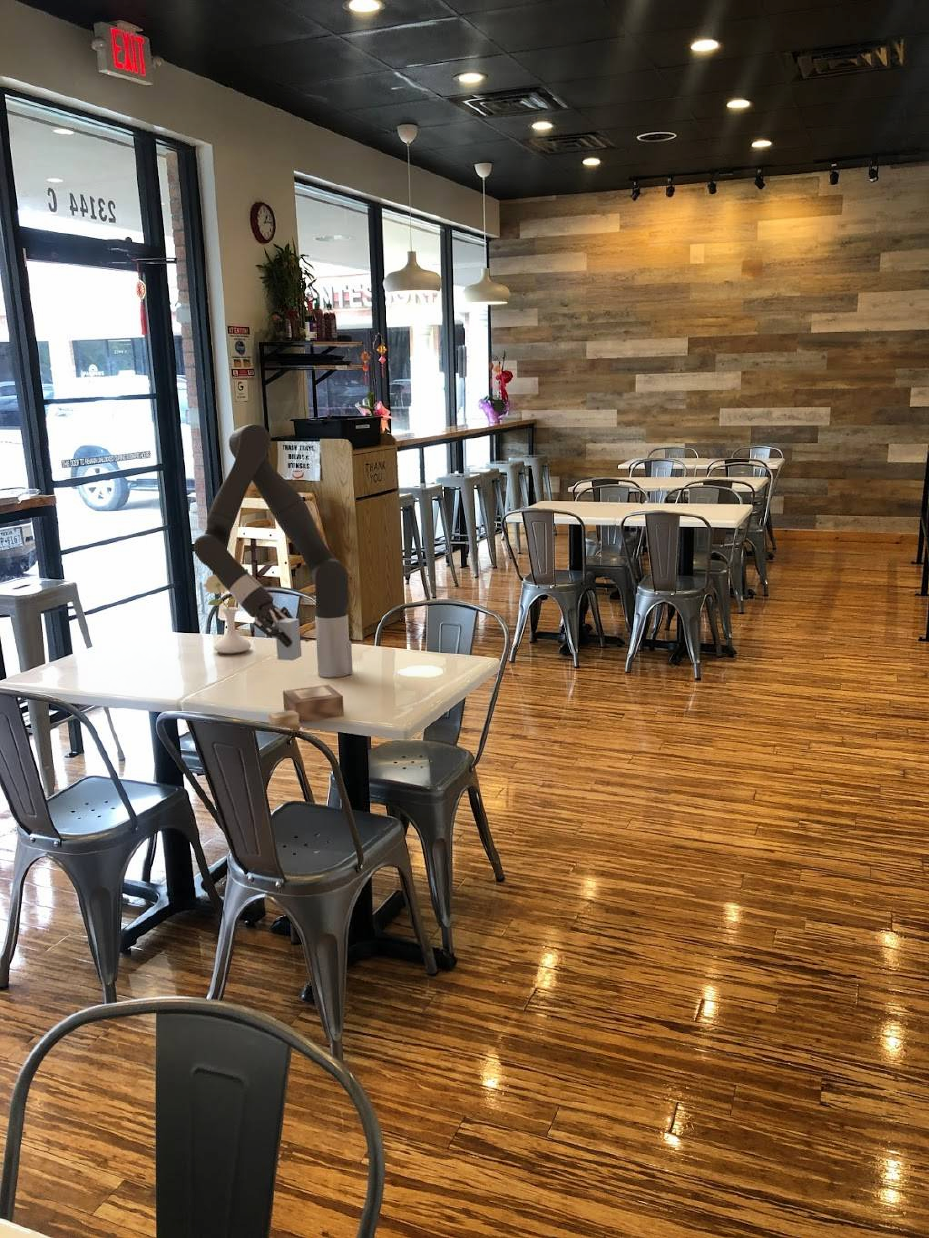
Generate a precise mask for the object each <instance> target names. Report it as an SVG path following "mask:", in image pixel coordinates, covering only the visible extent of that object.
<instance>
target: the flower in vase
mask: <svg viewBox="0 0 929 1238" xmlns="http://www.w3.org/2000/svg"><path fill="white" fill-rule="evenodd" d="M203 586H204V588H205V590H206V592H208V593H210V594H214V595H219V598H220V599H218V598H213V599H211V600H210V601H209V602H208V604H207V605H208V606H219V605H220V604H221V603H223V605H224V606H225V607H224V608H222V609H221V611H222V612H223V614H224V615H225V619H226V624H227V625H226V626H227V627H226V628H227V629H226V633H225V634H224V635H223V636H222V637H221V638H220V639H219V640H218V641H217V642H216V643H215V644H214V646H213V649H214V651H215V652H218V653H221V654H237V653H238V654H239V653H243V652H245V651H248V650H249V649H250V648H251V647H252V645H251V642H250V641H249V640H247V639H246V638H245V637H243V636H242V635H241V634H239V633H238V632H237V630H236V627H235V626H236V625H235V622H236V621H235V619H236V614H237V611H238V610H239V608H238V607H235V606H233V607H231V606H229V605H232V604H234V603H235V602H237V601H236V600H235V599H234V597H233V598H231V599H229V600H228V601H227V602H226V603H225V602H224V601H223V599H222V597H221V596H222V594H223V593H224V592H227V591H228V590H227V589H226V588H225V587H224V586H223V584H222V583H221V582H220V581H219V579H218V578H217V576H216V575H215V574H212V575H211V576H209V577H208V578H206V581H205V583H204V585H203ZM221 593H222V594H221ZM228 606H229V607H228Z"/></svg>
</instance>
